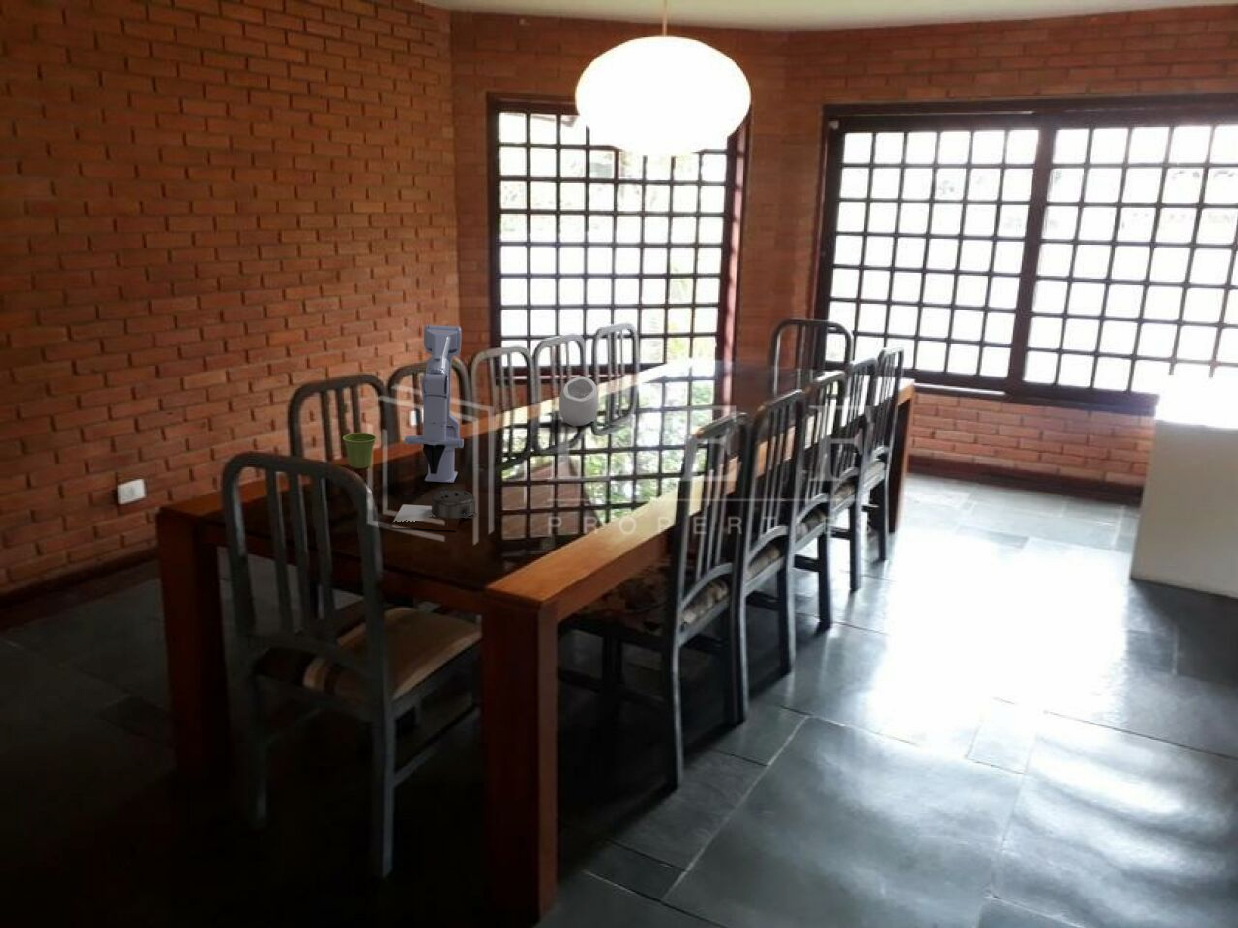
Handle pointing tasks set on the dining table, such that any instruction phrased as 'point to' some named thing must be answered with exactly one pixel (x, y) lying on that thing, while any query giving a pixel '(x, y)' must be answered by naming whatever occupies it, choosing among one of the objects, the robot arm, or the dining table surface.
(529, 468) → the dining table surface
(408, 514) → the mat
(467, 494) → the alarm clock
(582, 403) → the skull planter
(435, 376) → the robot arm
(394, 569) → the dining table surface
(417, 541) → the dining table surface
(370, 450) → the plant pot
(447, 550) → the dining table surface
